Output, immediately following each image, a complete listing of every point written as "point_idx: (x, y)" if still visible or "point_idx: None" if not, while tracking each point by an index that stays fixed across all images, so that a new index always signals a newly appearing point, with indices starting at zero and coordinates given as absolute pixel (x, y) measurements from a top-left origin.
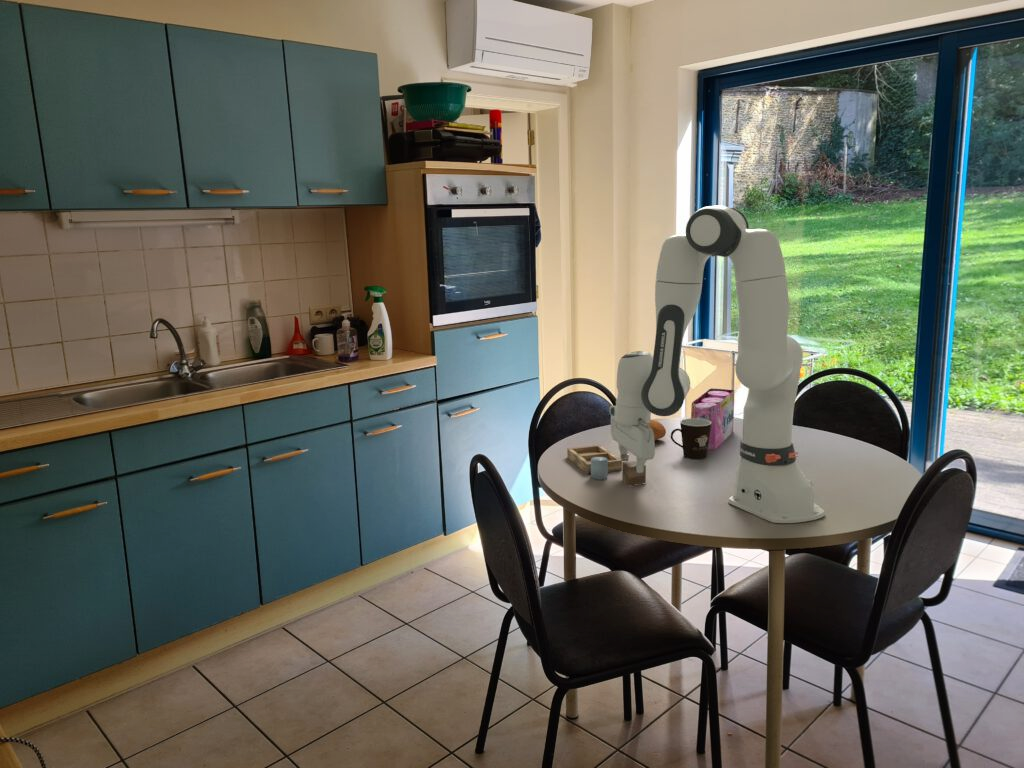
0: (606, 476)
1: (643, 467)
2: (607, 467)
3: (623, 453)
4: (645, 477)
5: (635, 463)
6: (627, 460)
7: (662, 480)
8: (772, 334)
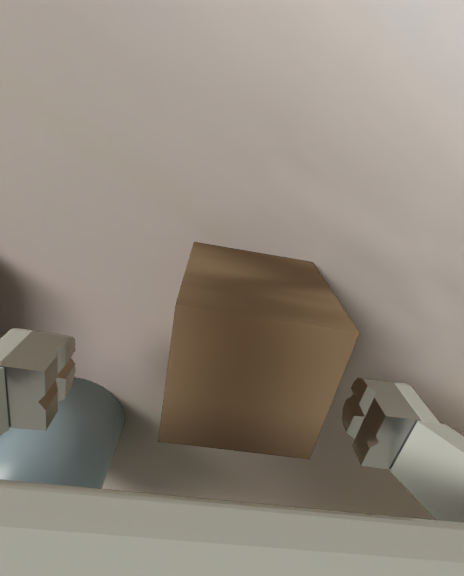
0: (110, 408)
1: (429, 410)
2: (76, 440)
3: (3, 412)
4: (325, 282)
5: (249, 376)
6: (72, 343)
7: (330, 102)
8: None
